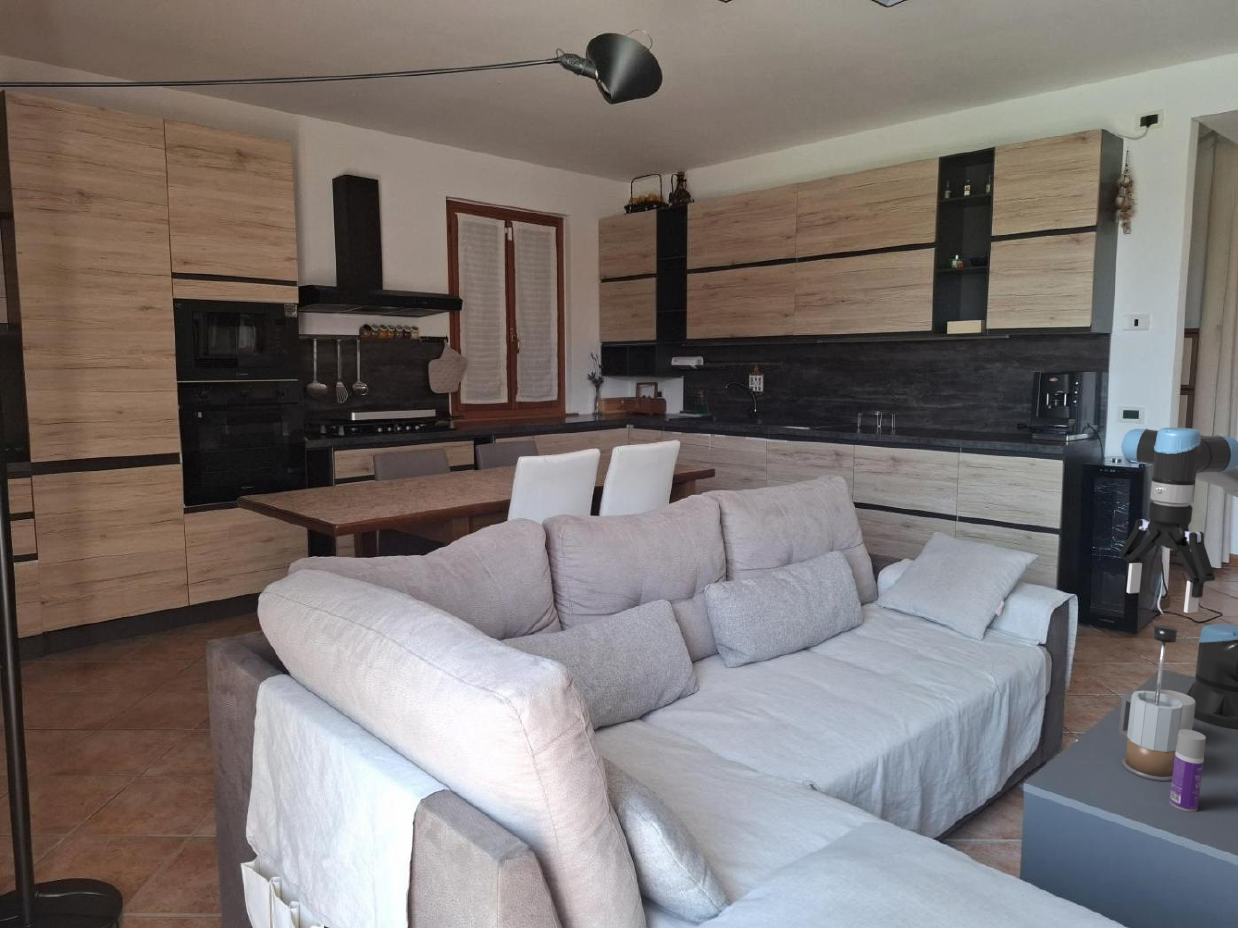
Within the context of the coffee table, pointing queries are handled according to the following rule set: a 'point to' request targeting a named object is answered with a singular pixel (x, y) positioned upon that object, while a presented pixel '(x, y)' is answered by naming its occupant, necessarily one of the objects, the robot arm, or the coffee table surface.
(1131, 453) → the robot arm
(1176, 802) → the container
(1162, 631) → the plunger
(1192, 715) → the mug
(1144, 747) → the carafe
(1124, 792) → the coffee table surface
